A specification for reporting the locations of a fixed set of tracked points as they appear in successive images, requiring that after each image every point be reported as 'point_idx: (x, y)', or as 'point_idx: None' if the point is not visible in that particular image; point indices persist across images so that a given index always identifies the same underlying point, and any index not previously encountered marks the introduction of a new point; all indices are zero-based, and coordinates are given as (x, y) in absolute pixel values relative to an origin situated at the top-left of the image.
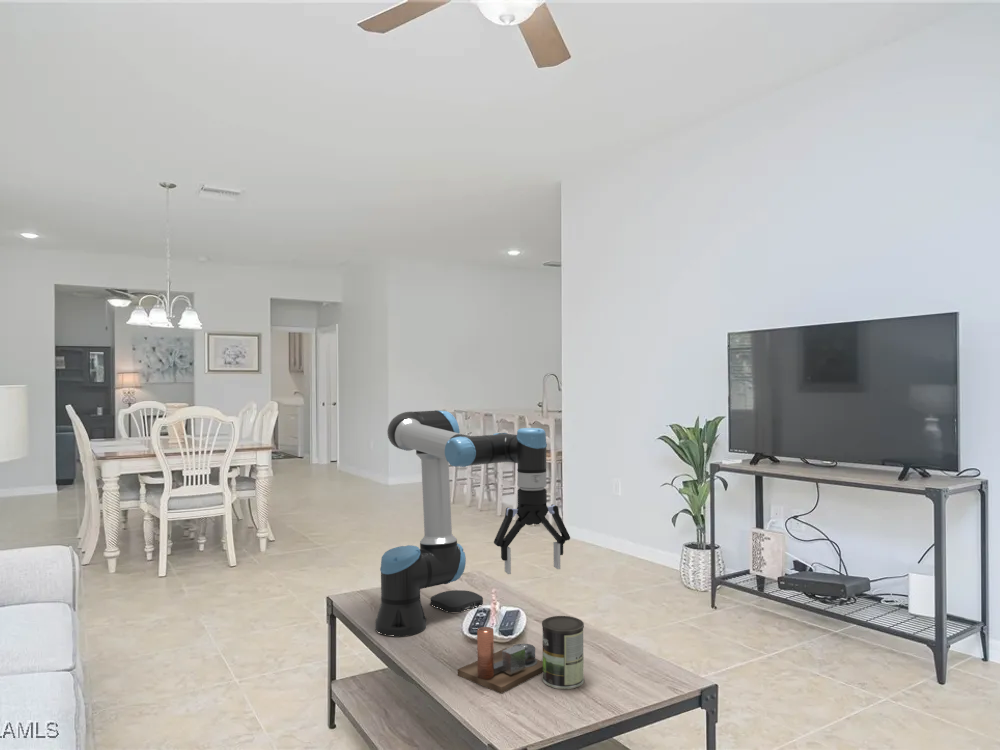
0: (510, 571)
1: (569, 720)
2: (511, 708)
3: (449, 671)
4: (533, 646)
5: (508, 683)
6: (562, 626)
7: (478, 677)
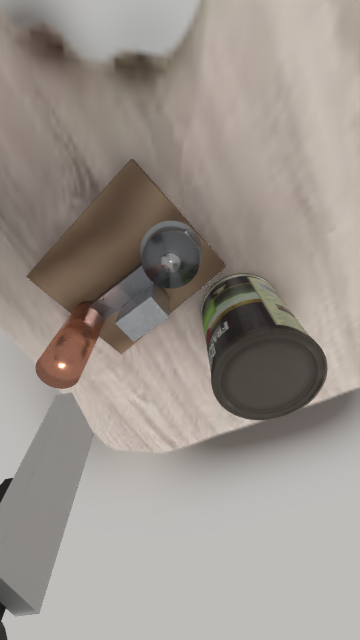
0: (88, 446)
1: (215, 420)
2: (138, 388)
3: (10, 251)
4: (196, 253)
5: (134, 342)
6: (261, 394)
7: None
